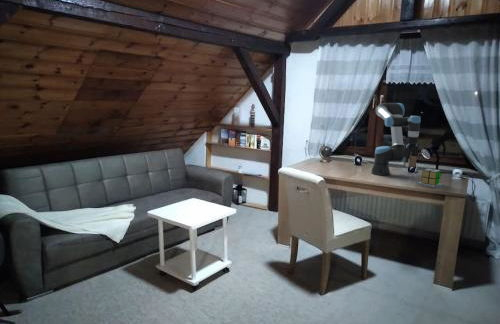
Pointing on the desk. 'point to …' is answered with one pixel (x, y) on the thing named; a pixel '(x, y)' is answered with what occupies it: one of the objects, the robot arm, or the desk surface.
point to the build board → (430, 185)
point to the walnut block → (411, 161)
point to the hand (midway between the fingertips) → (409, 166)
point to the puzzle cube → (431, 176)
